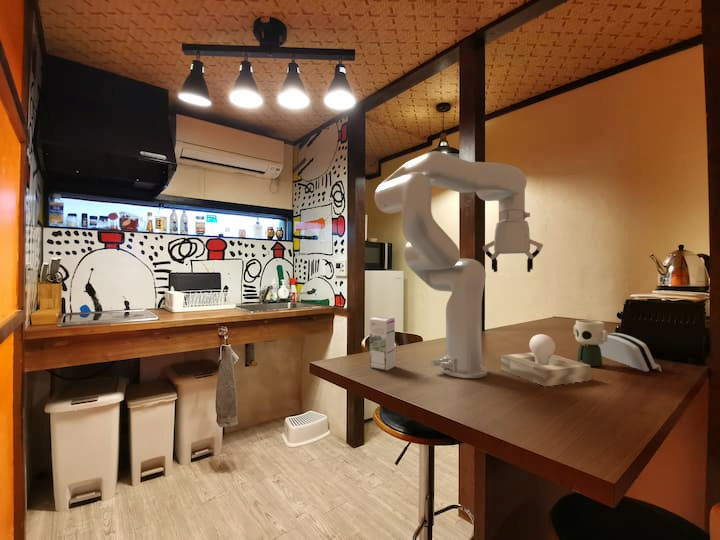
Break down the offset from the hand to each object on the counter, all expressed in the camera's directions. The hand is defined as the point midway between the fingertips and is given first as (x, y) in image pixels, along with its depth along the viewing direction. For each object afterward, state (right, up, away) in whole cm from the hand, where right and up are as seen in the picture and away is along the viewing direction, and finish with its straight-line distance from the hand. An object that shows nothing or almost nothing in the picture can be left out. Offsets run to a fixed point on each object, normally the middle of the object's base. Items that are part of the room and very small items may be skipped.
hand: (511, 271), depth 104 cm
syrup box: (-41, -28, -8) cm, 51 cm away
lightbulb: (+1, -28, -15) cm, 32 cm away
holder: (+2, -28, -15) cm, 31 cm away
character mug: (+21, -28, -5) cm, 35 cm away
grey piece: (+33, -28, -3) cm, 44 cm away
